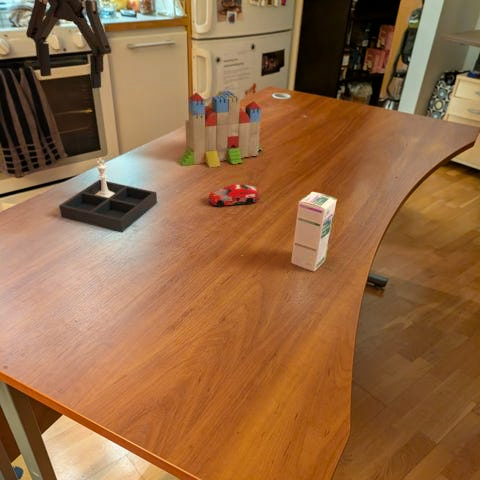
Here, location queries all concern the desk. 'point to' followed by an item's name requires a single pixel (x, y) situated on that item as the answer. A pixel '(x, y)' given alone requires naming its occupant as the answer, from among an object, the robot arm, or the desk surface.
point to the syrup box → (313, 230)
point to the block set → (221, 130)
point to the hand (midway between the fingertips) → (70, 81)
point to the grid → (109, 206)
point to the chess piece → (103, 180)
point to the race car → (234, 195)
